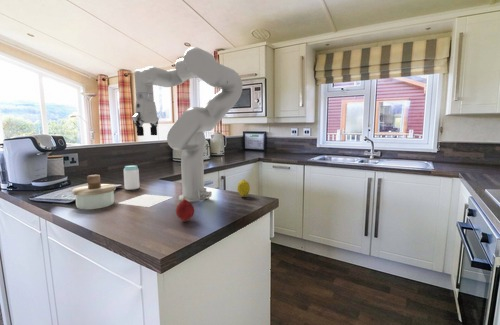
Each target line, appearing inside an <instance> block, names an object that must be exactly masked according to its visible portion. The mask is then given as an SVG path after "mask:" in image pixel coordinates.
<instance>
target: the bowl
mask: <svg viewBox="0 0 500 325" xmlns="http://www.w3.org/2000/svg"><path fill="white" fill-rule="evenodd" d="M114 192H115V190H114V191H112V192H108V193H104V194H97V195H85V196H81V195H74V198H75V206H76V208H77V209H78V210H95V209H102V208H106V207H109V206H110V207H111V205H114V203H115V193H114Z"/></svg>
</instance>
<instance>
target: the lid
mask: <svg viewBox="0 0 500 325" xmlns="http://www.w3.org/2000/svg"><path fill="white" fill-rule="evenodd" d="M86 178H87V179H86V180H87V185H82V186H78V187H75V188H73V189H72V191H71V192H72V195H74V196H75V195H81V196H85V195H97V194H104V193H108V192H112V191H114V192H115V190H116V187H117V186H116V184H111V183H101V175H100V174H91V175H87V176H86Z"/></svg>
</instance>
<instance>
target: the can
mask: <svg viewBox="0 0 500 325" xmlns="http://www.w3.org/2000/svg"><path fill="white" fill-rule="evenodd" d="M139 171H140V169H139V168H138V165H135V164H134V165H133V164H131V165H125V166H124V168H123V182H124V190H126V191H129V190H137V189H139V188H140V172H139Z"/></svg>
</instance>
